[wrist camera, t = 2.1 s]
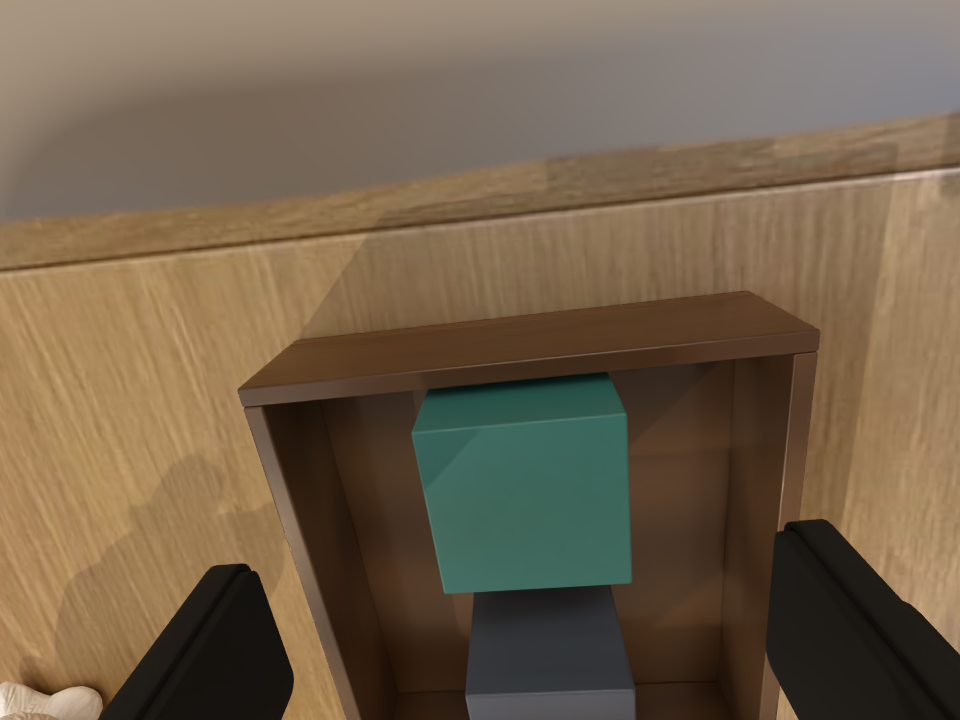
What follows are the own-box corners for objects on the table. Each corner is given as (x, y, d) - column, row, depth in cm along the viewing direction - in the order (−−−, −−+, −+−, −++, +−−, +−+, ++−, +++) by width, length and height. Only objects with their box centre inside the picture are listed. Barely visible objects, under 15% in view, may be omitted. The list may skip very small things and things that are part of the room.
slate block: (475, 570, 17) (464, 697, 13) (605, 562, 17) (635, 690, 13) (490, 662, 19) (485, 800, 15) (611, 657, 19) (639, 798, 14)
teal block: (438, 356, 15) (410, 432, 10) (593, 340, 14) (627, 413, 10) (460, 484, 16) (443, 595, 12) (601, 473, 16) (632, 584, 12)
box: (294, 340, 15) (235, 389, 12) (748, 290, 14) (822, 329, 11) (391, 689, 21) (368, 789, 17) (726, 676, 19) (770, 782, 16)
